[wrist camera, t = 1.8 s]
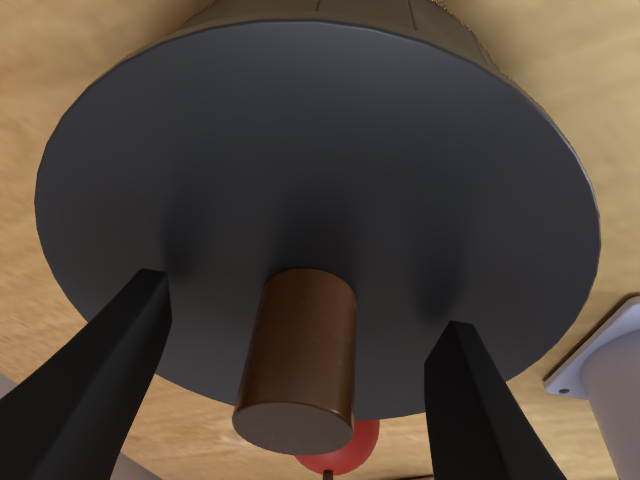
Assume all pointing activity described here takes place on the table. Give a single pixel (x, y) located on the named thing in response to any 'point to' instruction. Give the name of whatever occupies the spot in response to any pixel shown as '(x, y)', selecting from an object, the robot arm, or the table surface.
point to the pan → (378, 3)
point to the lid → (319, 214)
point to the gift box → (424, 478)
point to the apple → (345, 452)
